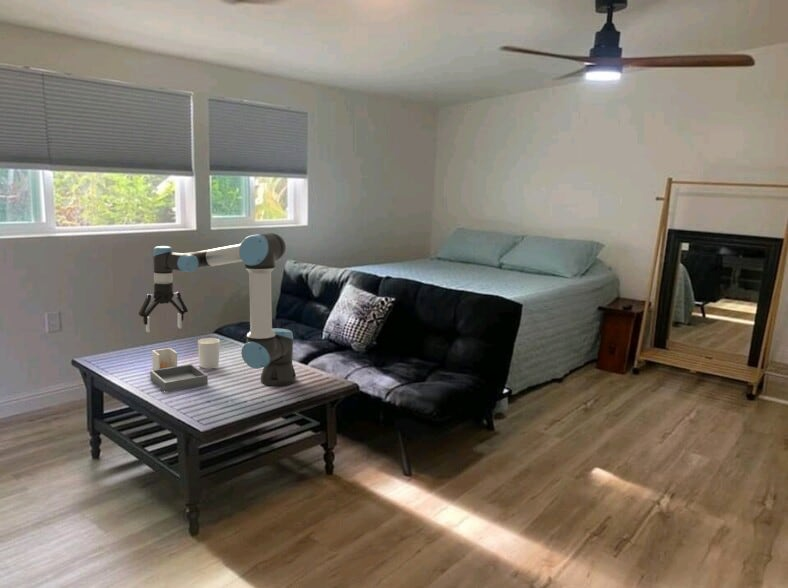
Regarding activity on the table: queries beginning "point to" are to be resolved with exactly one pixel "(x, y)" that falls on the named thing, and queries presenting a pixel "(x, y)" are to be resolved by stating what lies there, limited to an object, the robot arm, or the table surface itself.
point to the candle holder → (209, 352)
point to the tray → (178, 377)
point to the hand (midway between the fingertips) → (163, 329)
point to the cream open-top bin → (164, 358)
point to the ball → (163, 365)
